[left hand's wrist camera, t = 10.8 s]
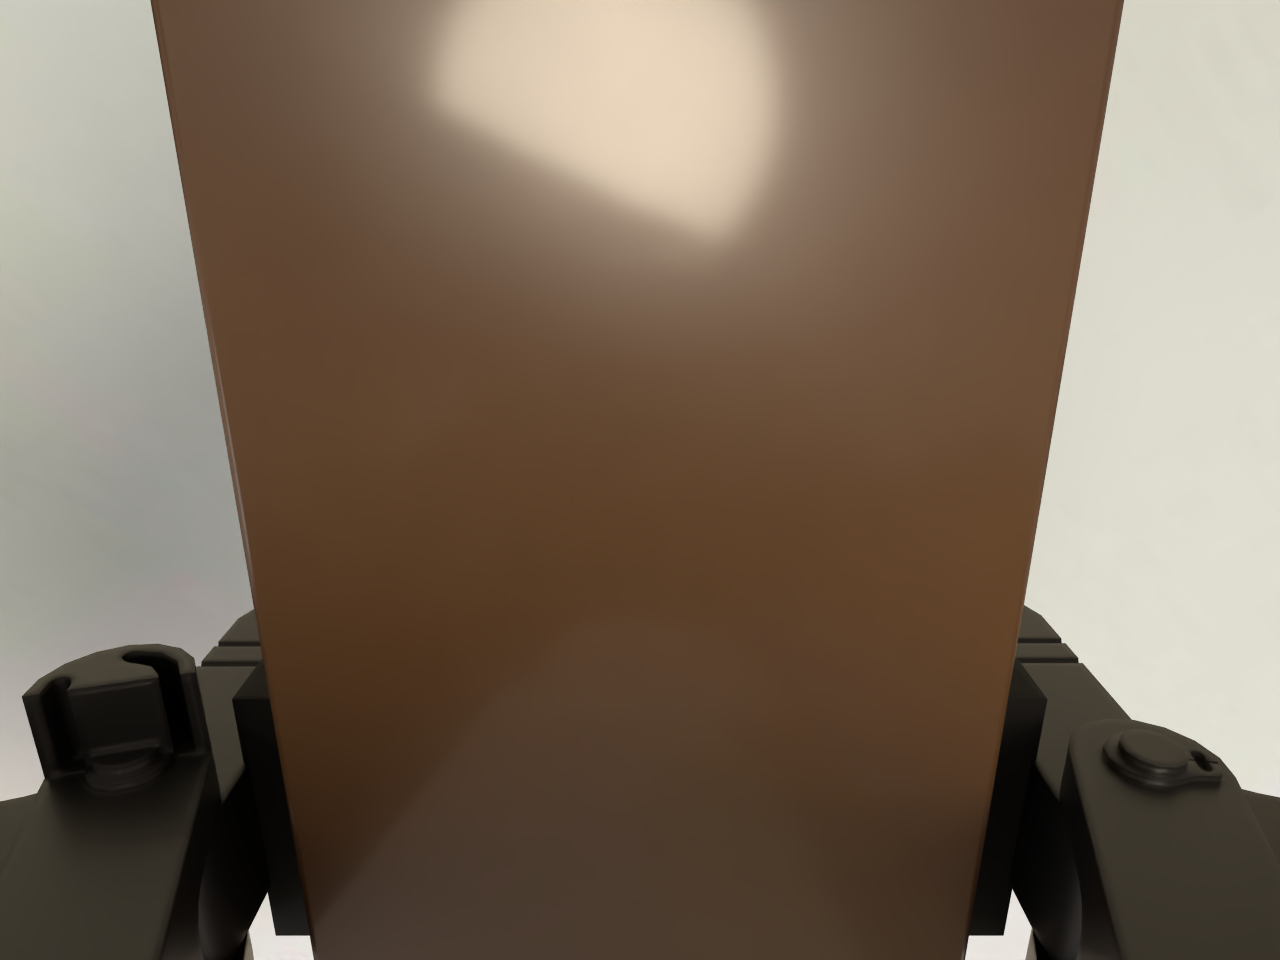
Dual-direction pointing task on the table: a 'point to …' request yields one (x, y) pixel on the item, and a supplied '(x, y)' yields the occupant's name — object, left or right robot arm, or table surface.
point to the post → (638, 448)
